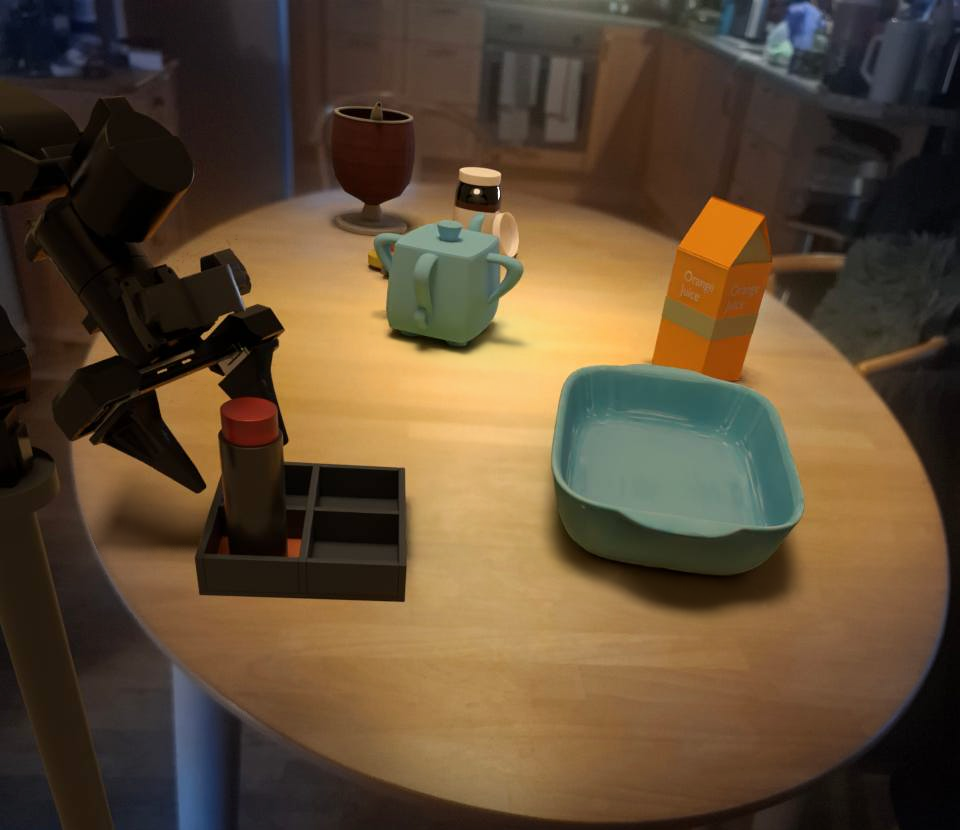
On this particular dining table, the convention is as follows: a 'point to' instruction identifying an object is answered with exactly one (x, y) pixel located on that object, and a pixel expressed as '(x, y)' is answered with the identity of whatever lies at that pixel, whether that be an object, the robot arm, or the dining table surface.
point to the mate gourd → (372, 163)
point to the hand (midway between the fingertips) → (245, 466)
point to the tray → (319, 539)
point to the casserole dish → (672, 469)
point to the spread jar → (485, 206)
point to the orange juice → (715, 292)
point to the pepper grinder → (253, 477)
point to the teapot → (445, 279)
